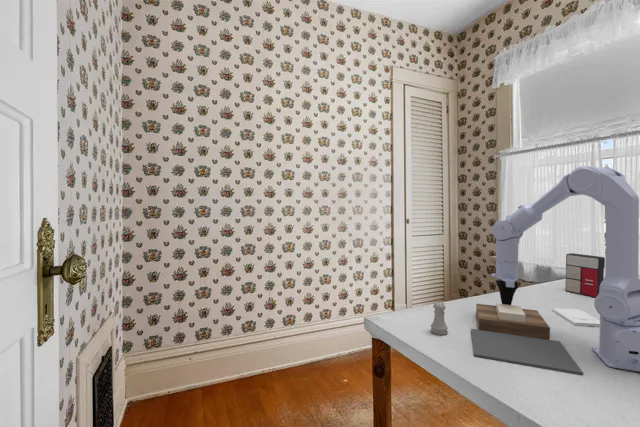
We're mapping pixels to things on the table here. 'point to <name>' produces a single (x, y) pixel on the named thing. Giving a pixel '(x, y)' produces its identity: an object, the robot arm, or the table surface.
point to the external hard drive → (577, 317)
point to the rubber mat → (523, 351)
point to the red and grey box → (584, 274)
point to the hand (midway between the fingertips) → (506, 305)
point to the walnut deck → (512, 323)
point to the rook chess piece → (439, 320)
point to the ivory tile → (510, 313)
